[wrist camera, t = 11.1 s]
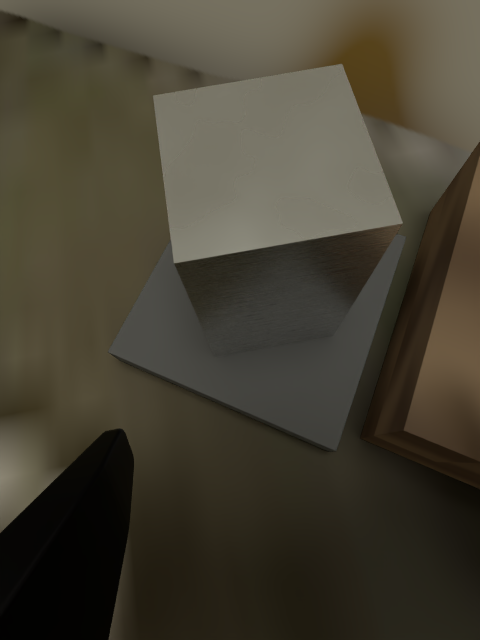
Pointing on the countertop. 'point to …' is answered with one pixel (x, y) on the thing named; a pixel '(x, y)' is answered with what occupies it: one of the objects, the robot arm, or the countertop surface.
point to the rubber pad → (258, 356)
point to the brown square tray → (437, 344)
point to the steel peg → (272, 205)
